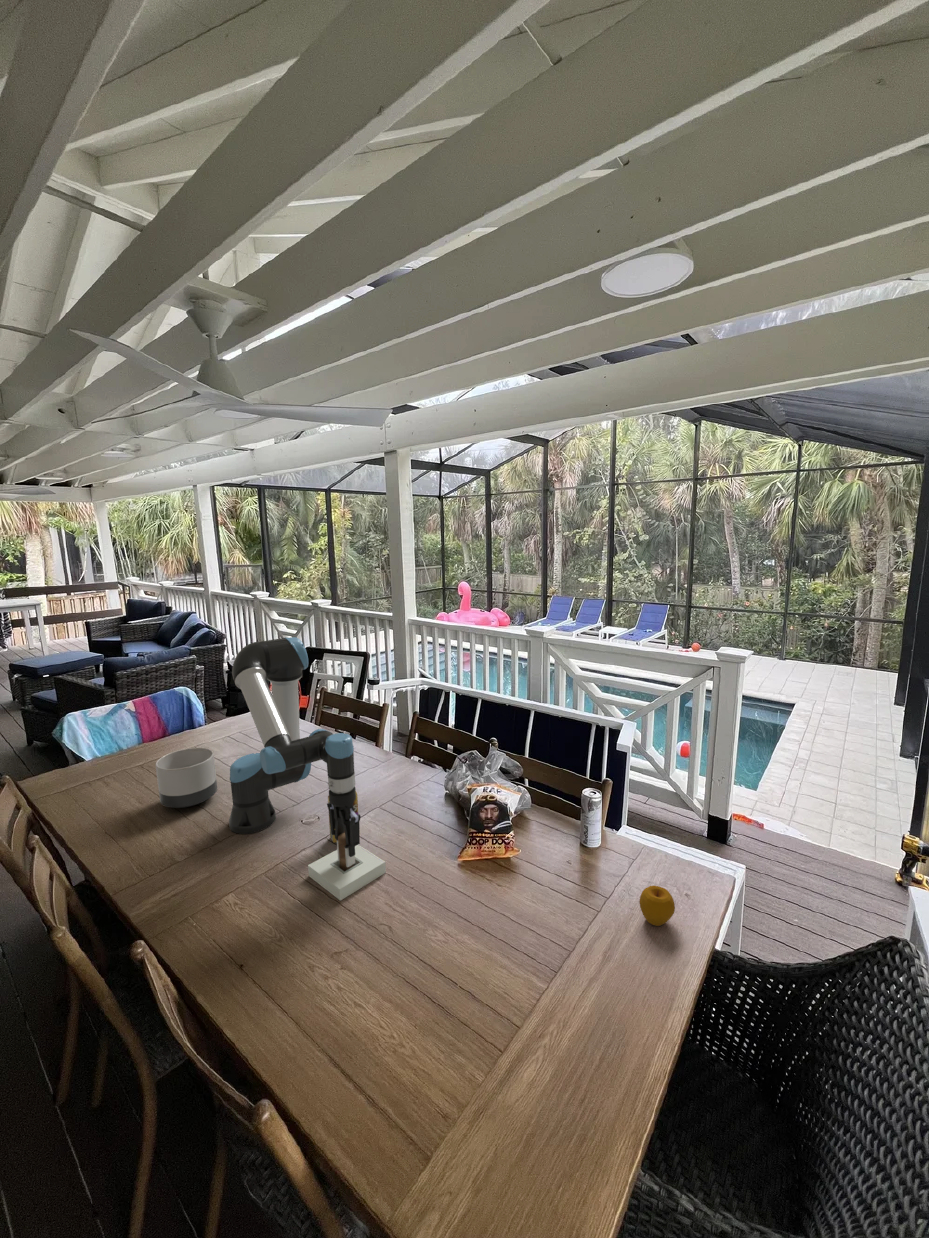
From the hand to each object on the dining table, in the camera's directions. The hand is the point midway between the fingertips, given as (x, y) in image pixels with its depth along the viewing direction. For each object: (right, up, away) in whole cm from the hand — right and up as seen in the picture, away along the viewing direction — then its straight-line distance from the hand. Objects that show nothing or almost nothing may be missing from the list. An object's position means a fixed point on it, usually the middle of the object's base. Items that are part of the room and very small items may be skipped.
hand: (346, 861), depth 156 cm
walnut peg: (0, -4, +1) cm, 4 cm away
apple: (+84, -6, -20) cm, 86 cm away
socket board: (0, -4, +1) cm, 4 cm away
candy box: (-5, -1, +20) cm, 21 cm away
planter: (-69, +2, +45) cm, 82 cm away
